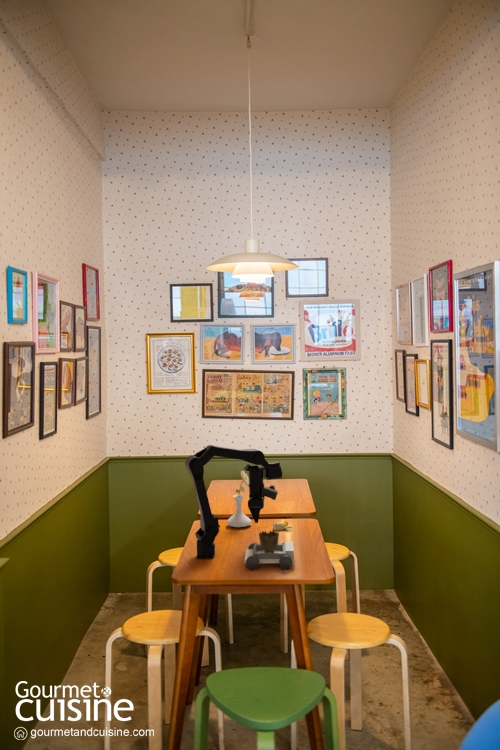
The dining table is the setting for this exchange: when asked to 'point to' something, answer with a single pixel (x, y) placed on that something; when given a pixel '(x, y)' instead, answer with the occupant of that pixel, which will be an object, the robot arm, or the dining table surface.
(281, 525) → the character toy
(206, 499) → the robot arm
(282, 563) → the car chassis
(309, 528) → the dining table surface
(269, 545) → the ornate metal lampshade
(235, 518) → the flower in vase
